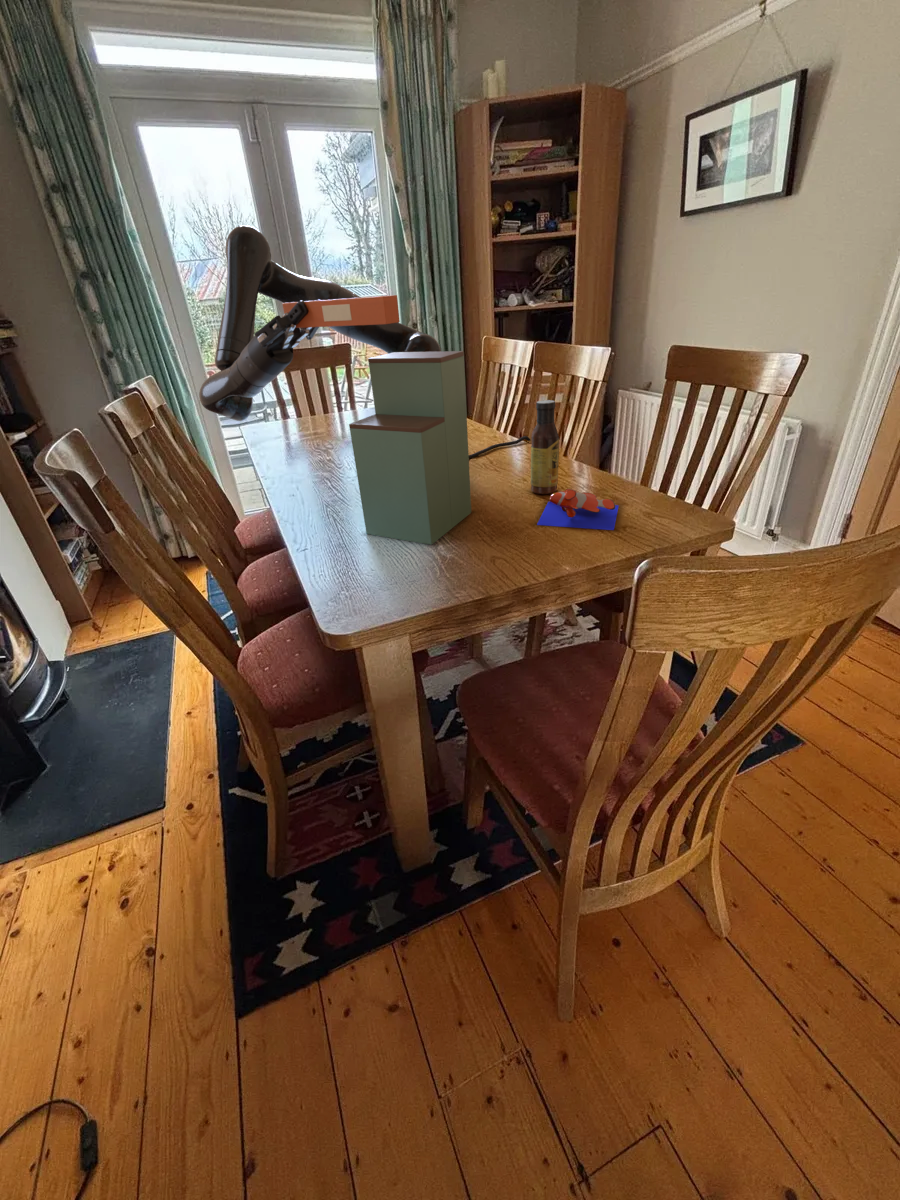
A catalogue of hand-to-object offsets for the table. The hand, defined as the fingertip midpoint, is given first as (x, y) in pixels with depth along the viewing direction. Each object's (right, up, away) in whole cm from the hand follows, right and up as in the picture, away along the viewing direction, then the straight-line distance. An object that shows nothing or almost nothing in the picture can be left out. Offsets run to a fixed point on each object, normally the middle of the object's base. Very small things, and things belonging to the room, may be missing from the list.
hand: (313, 305), depth 94 cm
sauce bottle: (+46, -27, +30) cm, 61 cm away
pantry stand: (+18, -36, +18) cm, 44 cm away
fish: (+51, -35, +16) cm, 64 cm away
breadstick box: (+5, -4, -1) cm, 7 cm away
